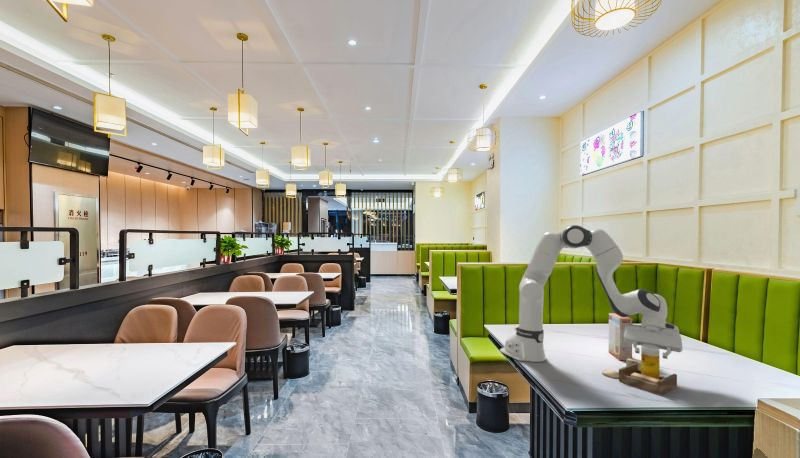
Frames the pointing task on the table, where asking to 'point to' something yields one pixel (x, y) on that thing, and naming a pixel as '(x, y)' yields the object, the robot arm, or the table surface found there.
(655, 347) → the beer glass
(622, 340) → the cracker box
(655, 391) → the rack
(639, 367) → the offcut top
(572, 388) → the table surface
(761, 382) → the table surface
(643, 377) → the offcut bottom
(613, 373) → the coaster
